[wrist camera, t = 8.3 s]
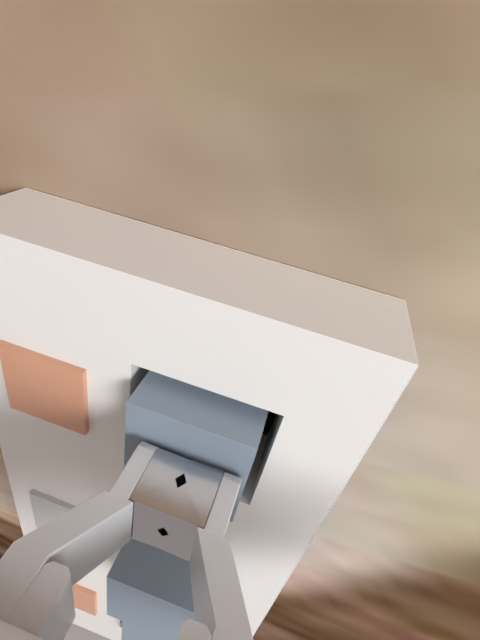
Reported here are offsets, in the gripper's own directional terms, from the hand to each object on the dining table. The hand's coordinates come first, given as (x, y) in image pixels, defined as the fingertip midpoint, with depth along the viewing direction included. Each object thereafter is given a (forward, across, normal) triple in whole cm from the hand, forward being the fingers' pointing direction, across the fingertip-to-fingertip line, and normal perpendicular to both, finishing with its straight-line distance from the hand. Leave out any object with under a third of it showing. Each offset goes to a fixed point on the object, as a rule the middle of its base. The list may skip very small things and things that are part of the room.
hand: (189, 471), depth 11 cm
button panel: (+4, +2, +8) cm, 9 cm away
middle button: (+2, 0, +8) cm, 8 cm away
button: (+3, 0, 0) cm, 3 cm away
